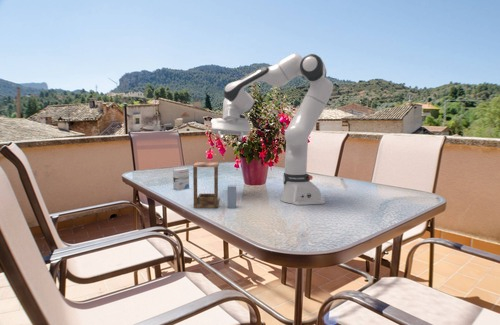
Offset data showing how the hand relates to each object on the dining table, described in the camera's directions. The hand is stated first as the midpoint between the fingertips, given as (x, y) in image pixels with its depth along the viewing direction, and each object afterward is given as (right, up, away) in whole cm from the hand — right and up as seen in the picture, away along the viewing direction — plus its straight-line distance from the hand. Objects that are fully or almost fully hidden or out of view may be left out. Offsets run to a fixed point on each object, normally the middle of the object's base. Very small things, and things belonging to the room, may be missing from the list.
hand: (230, 139), depth 151 cm
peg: (+1, -32, -10) cm, 34 cm away
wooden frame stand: (-11, -32, -6) cm, 34 cm away
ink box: (-31, -27, +27) cm, 50 cm away
